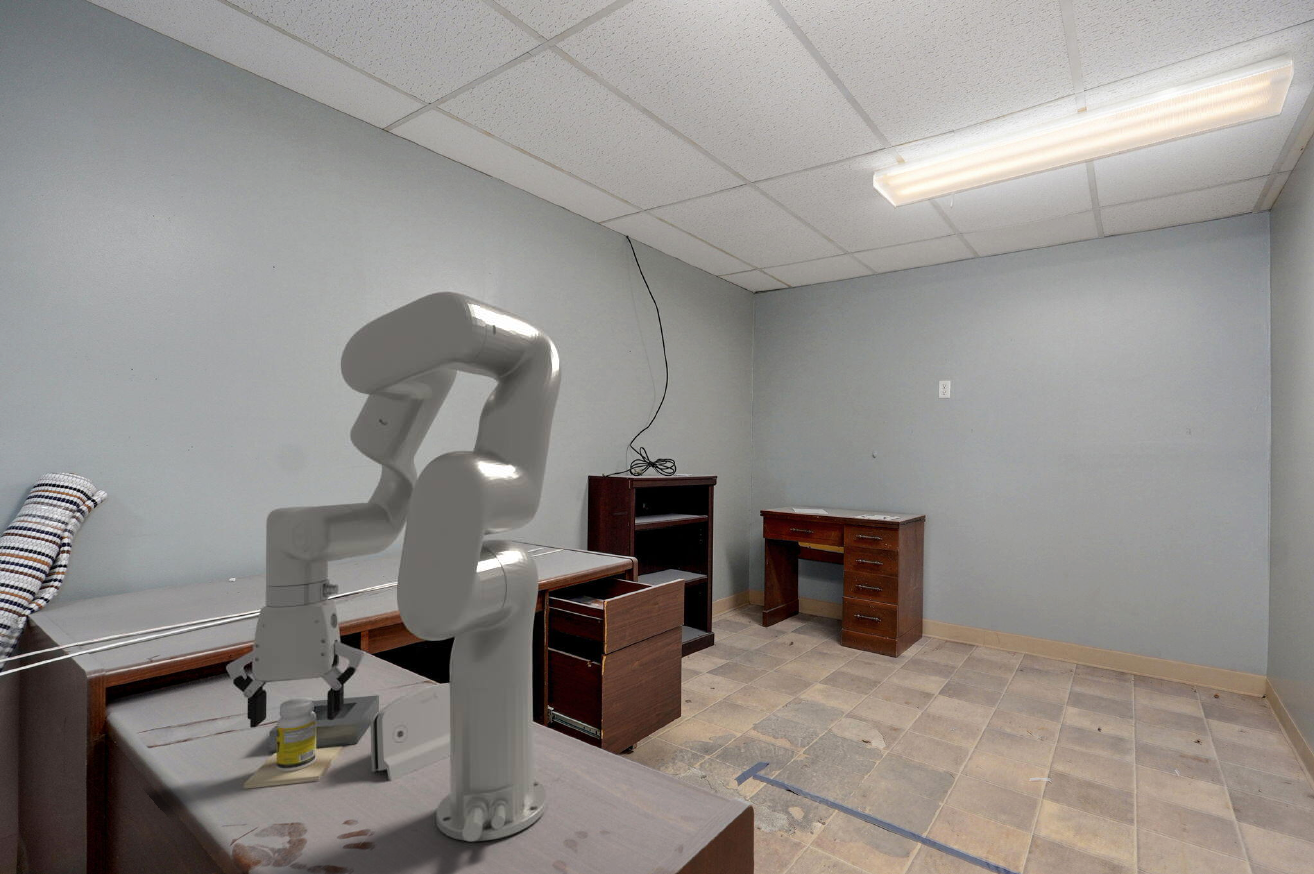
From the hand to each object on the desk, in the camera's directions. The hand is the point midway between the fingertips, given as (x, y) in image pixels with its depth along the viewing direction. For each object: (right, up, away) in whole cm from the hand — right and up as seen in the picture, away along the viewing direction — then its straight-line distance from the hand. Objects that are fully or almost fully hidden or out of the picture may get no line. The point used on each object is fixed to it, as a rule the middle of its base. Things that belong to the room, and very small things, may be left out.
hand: (296, 719), depth 84 cm
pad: (0, -7, 0) cm, 7 cm away
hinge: (+17, -7, +4) cm, 19 cm away
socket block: (-2, -7, +12) cm, 14 cm away
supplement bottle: (0, -6, 0) cm, 6 cm away
